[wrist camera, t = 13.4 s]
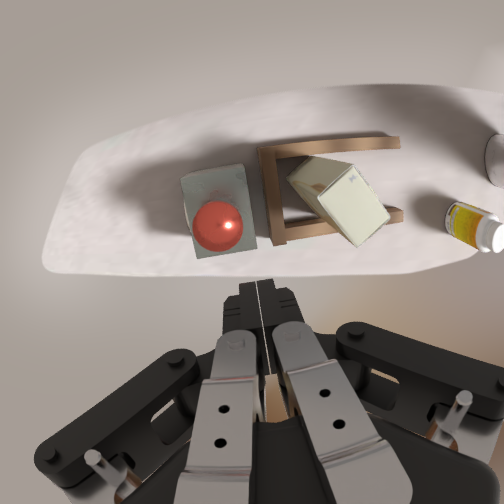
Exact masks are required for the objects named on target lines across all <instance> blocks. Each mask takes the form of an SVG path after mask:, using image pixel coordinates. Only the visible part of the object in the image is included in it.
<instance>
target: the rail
mask: <svg viewBox="0 0 504 504" xmlns="http://www.w3.org/2000/svg"><path fill="white" fill-rule="evenodd" d="M377 149H400V139H399V137H363V138H345V139H331V140H319V141H308V142H298V143H289V144H281V145H273V146H265V147H258V148H257V152H258V159H259V165H260V172H261V178H262V185H263V192H264V199H265V206H266V213H267V220H268V227H269V234H270V239H271V241H272V244H273V246H278V245H284V244H287V242H286V241H290V240H296V239H302V238H308V237H314V236H320V235H326V234H332V233H338V231H336V230H335V229H334V228H333V227H332V226H330V225H329V224H328V223H327V222H325V221H324V220H323V219H322V218H319V219H312V220H306V221H299V222H293V223H287V224H284V218H283V210H282V202H281V194H280V187H279V180H278V172H277V165H276V159H280V158H288V157H296V156H304V155H314V154H324V153H334V152H346V151H360V150H377ZM386 210H387V212H388V213H389V215H390V220H389V221H388V222H387V223H386V224H384V225H387V224H393V223H399V222H403V210H401V209H398V208H396V207H394V208H387V209H386Z"/></svg>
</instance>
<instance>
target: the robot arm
mask: <svg viewBox="0 0 504 504" xmlns="http://www.w3.org/2000/svg"><path fill="white" fill-rule="evenodd" d="M485 164H486V171H487V174H488V177H489V179H490V181H491V182H492V184H494V185H495V186H497V187H500V188H504V135H498V134H497V135H494V136H492V137H491V139H490V140H489V142H488V144H487V148H486V153H485ZM257 287H258V294H259V300H260V307H261V313H262V320H263V326H264V332H265V338H266V344H267V349H268V356H269V362H270V368H271V373H272V374H276V373H277V376H278V382H279V389H280V392H281V396H282V399H283V403H284V406H285V410H286V413H287V416H288V419H287V420H284V421H282V422H278V423H268V422H266V392H265V384H266V381H265V375H269V374H270V373H269V366H268V359H267V353H266V347H265V340H264V335H263V327H262V321H261V315H260V309H259V303H258V296H257V290H256V284H255V282H247V283H241V284H239V293H240V294H239V295H234V296H229V297H228V298H227V300H226V301H225V302H224V311H223V333H222V334H223V335H222V336H221V337H220V338H219V339H218V341H217V344H216V348H215V349H214V350H212V351H210V352H208V353H206V354H203V355H200V356H197V357H196V355H195V354H194V353H193V352H192V351H190V350H188V349H175V350H172V351H169V352H167V353H165V354H164V355H162V356H161V357H160V358H158V359H157V360H156V361H154V362H153V363H152V364H150V365H149V366H148V367H146V368H145V369H144V370H142V371H141V372H140V373H138V374H137V375H136V376H135V377H133V378H132V379H130V380H129V381H128V382H127V383H125V384H124V385H122V386H121V387H120V388H118V389H117V390H115V391H114V392H113V393H111V394H110V395H109V396H107V397H106V398H105V399H103V400H102V401H101V402H99V403H98V404H96V405H95V406H94V407H92V408H91V409H89V410H88V411H87V412H85V413H84V414H83V415H81V416H80V417H78V418H77V419H75V420H74V421H73V422H71V423H70V424H68V425H67V426H66V427H64V428H63V429H61V430H60V431H58V432H57V433H56V434H54V435H53V436H51V437H50V438H48V439H47V440H45V441H44V442H43V443H42V444H40V445H39V446H38V448H37V449H36V452H35V454H34V463H35V466H36V467H37V468H38V470H39V471H41V472H42V473H43V474H44V475H45V476H46V477H47V478H49V479H50V480H51V481H52V482H53V483H54V485H56V486H57V487H58V488H60V489H61V490H62V491H64V493H65V494H66V496H67V497H68V498H69V500H70V501H71V503H72V504H499V501H500V485H499V481H498V478H497V476H496V474H495V472H494V471H493V470H492V468H490V467H489V466H488V463H489V461H490V458H491V456H492V453H493V450H494V447H495V444H496V441H497V438H498V435H499V432H500V429H501V425H502V422H503V421H504V368H503V367H499V366H496V365H493V364H489V363H486V362H483V361H479V360H476V359H473V358H470V357H466V356H463V355H460V354H457V353H454V352H451V351H447V350H445V349H441V348H438V347H435V346H432V345H429V344H426V343H423V342H420V341H417V340H414V339H411V338H408V337H405V336H402V335H399V334H396V333H393V332H390V331H387V330H384V329H382V328H379V327H375V326H373V325H370V324H367V323H364V322H349V323H346V324H344V325H342V326H341V327H339V328H338V330H337V331H336V334H319V333H315V332H313V330H312V329H311V327H310V326H309V325H307V324H305V322H304V319H303V317H302V314H301V311H300V308H299V306H298V304H297V301H296V298H295V296H294V293H293V292H292V291H291V290H289V289H288V288H287V287H285V288H279V289H276V288H275V285H274V281H273V279H266V280H260V281H257ZM372 369H375V370H377V371H380V372H382V373H385V374H387V375H390V376H392V377H394V378H396V379H397V380H398V382H399V383H400V384H398V383H396V382H393V381H391V380H388V379H386V378H383V377H381V376H378V375H376V374H374V373H371V370H372ZM171 399H173V401H174V403H173V404H172V405H171V406H170V407H169V408H168V409H166V410H165V411H164V412H163V413H162V414H160V415H159V416H158V417H157V418H156V419H154V420H153V421H152V422H151V419H152V417H153V415H154V414H155V413H156V412H158V411H159V410H160V409H161V408H162V407H164V406H165V405H166V404H167V403H168V402H170V401H171ZM366 411H368V412H370V413H372V414H370V413H366ZM400 426H401V427H400ZM407 429H408V430H407ZM409 430H410V431H409ZM411 431H412V432H411ZM413 432H415V433H417V434H415V433H413ZM418 434H420V435H422V436H425V437H426V438H424V437H422V436H420V435H418ZM190 438H191V440H190V441H189V442H187V441H188V440H189V439H190ZM186 442H187V443H186ZM185 443H186V444H185ZM167 459H168V460H167ZM166 460H167V461H166ZM165 461H166V462H165ZM164 462H165V463H164ZM158 467H159V468H158ZM157 468H158V469H157ZM156 469H157V470H156ZM155 470H156V471H155ZM154 471H155V472H154ZM153 472H154V473H153ZM152 473H153V474H152ZM150 474H152V475H151V476H150V477H149V478H148V479H146V478H147V477H148V476H149V475H150ZM144 479H146V480H145V481H144V482H143V483H142V481H143V480H144Z"/></svg>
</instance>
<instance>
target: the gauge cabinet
mask: <svg viewBox="0 0 504 504" xmlns="http://www.w3.org/2000/svg"><path fill="white" fill-rule="evenodd" d="M180 182H181V187H182V192H183V197H184V211H185V217H186V222H187V225H188V228H189V230H190V232H191V235H192V239H193V244H194V248H195V252H196V257H197V259H200V258H206V257H212V256H218V255H224V254H230V253H236V252H242V251H247V250H253V249H257V243H256V236H255V230H254V224H253V217H252V211H251V204H250V198H249V192H248V185H247V179H246V173H245V167H244V166H243V164H242V163H239V164H233V165H227V166H221V167H215V168H210V169H205V170H199V171H194V172H190V173H188V174H187V175H185V176H183V177H182V178H180ZM216 200H221V201H226V202H228V203H230V204H232V205H233V206H235V207H236V208H237V210H238V211H239V213H240V214H241V217H242V221H243V233H242V236H241V238H240V240H239V242H238V243H237V244H236V245H235V246H234V247H232V248H231V249H229V250H226V251H222V252H214V251H209V250H207V249H205V248H203V247H202V246H201V245H200V244H199V243H198V242H197V241H196V239H195V237H194V235H193V230H192V224H193V220H194V217H195V215H196V213H197V211H198V210H199V209H200V208H201V207H202V206H203V205H204V204H206V203H208V202H211V201H216Z"/></svg>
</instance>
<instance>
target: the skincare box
mask: <svg viewBox="0 0 504 504" xmlns="http://www.w3.org/2000/svg"><path fill="white" fill-rule="evenodd" d="M286 180H287V181H288V182H289V184H290V185H291V186H292V187H293V189H294V190H295V191H296V192H297V193H298V194H299V196H300V197H301V198H302V199H303V200H304V201H305V202H306V203H307V205H308V206H309V207H310V208H311V209H312V210H313V211H314V212H315V213H316V214H317V215H318V216H319V217H320V218H322V219H323V220H324V221H325V222H327V223H328V224H329V225H330V226H332V227H333V228H334V229H335V230H336V231H338V232H339V233H340V234H341V235H342V236H344V237H345V238H346V239H347V240H348V241H349V242H351V243H352V244H353V245H354V246H355V247H356V248H358V247H360V246H361V245H362V244H363V243H364V242H365V241H367V240H368V239H369V238H370V237H371V236H372V235H374V234H375V233H376V232H377V231H378V230H379V229H380V228H381V227H382V226H383V225H384V224H386V223H387V222H388V221H389V220H390V215H389V213H388V212H387V210H386V209H385V207H384V206H383V204H382V203H381V201H380V200H379V198H378V197H377V195H376V194H375V192H374V191H373V189H372V188H371V187H370V185H369V184H368V183H367V181H366V180H365V178H364V177H363V176H362V174H361V173H360V171H359V170H358V169H357V168H356V166H355V165H354V164H350V163H345V162H340V161H336V160H331V159H326V158H320V157H315V156H310V157H309V158H307V159H306V160H305V161H304V162H303V163H301V164H300V165H299V166H298V167H297V168H296V169H294V170H293V171H292V172H291V173H290V174H289V175H288V176H287V177H286Z"/></svg>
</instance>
